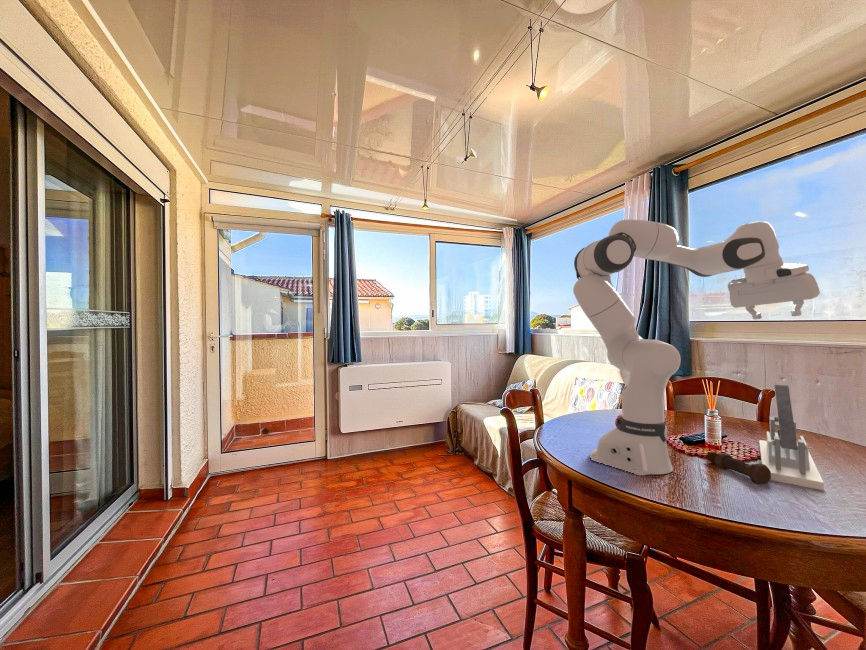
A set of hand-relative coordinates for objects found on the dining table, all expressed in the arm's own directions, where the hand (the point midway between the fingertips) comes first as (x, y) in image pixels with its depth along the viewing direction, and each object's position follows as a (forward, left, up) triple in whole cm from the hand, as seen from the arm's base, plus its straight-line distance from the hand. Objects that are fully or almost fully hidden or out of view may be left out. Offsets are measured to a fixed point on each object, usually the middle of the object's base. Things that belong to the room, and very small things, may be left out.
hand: (776, 317), depth 104 cm
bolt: (-11, -18, -45) cm, 49 cm away
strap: (+1, -4, -29) cm, 30 cm away
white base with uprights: (+1, -3, -44) cm, 44 cm away
